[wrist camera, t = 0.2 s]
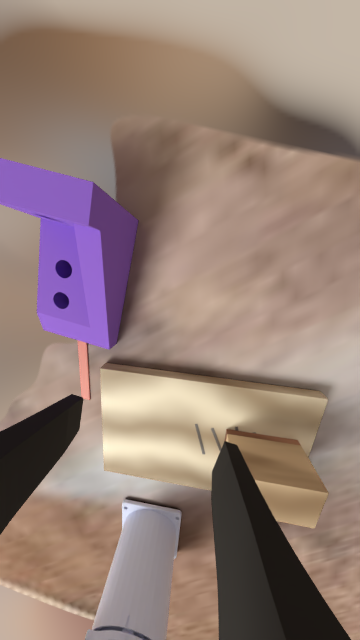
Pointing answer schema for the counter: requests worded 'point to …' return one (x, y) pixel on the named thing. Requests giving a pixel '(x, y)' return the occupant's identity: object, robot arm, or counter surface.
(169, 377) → the board
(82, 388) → the red square bar
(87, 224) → the bracket
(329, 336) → the counter surface
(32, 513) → the counter surface
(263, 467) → the block
